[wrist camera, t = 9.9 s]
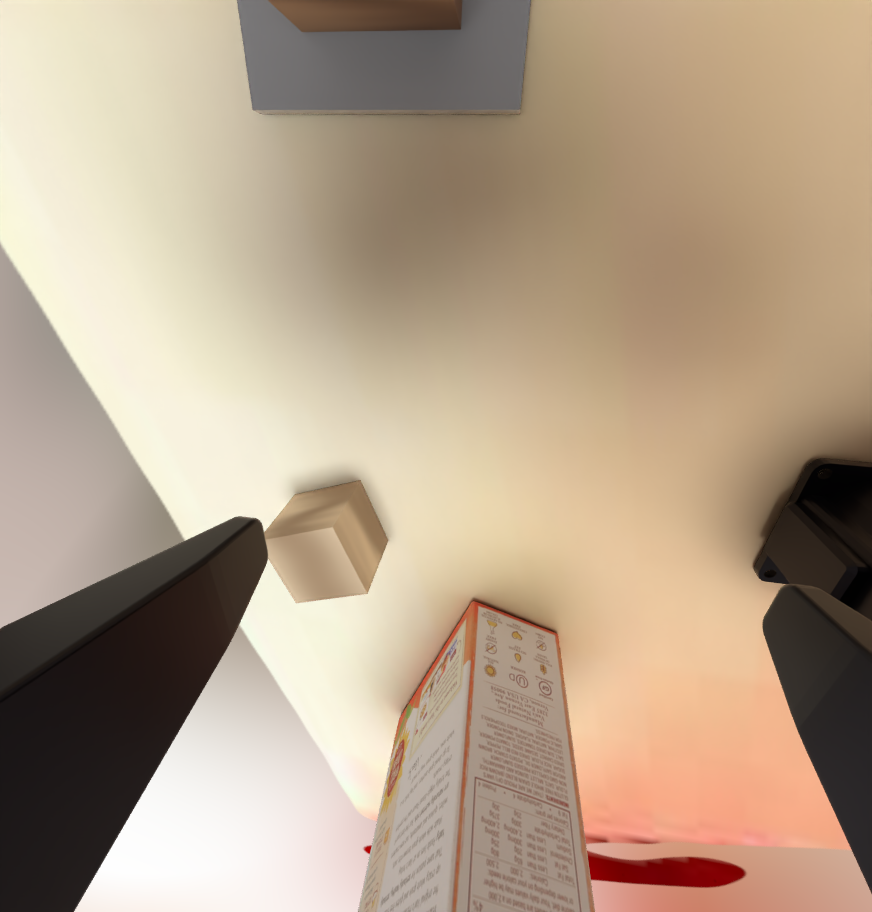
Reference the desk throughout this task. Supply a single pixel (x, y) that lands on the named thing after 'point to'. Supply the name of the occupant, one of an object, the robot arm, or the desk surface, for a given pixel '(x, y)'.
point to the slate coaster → (388, 64)
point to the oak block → (327, 543)
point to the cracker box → (483, 782)
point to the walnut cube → (371, 14)
